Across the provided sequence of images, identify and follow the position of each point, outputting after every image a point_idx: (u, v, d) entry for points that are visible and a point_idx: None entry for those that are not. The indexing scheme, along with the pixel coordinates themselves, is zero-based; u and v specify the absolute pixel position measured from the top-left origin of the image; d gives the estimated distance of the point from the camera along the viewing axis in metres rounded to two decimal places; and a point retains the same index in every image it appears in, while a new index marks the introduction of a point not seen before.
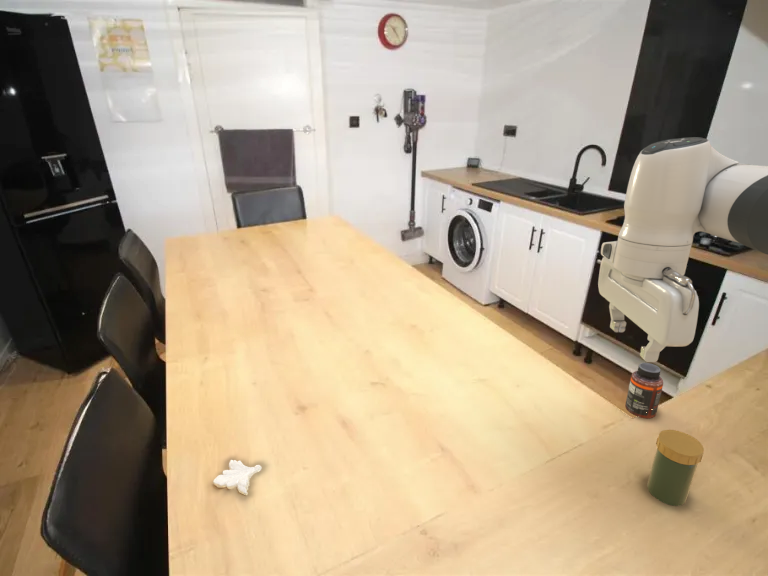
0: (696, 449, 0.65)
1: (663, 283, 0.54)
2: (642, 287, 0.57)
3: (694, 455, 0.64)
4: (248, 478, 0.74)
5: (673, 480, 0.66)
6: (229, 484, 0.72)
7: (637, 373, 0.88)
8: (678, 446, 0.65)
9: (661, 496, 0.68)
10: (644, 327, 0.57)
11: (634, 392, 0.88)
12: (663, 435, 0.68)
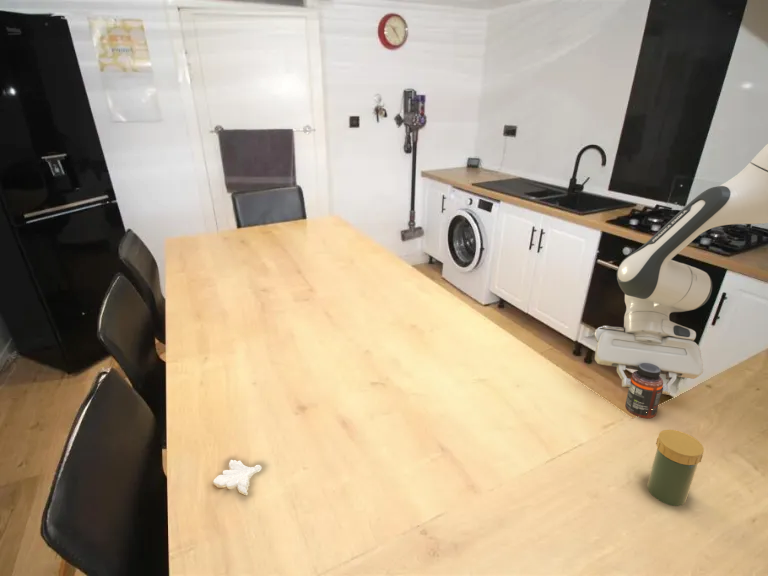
0: (696, 449, 0.65)
1: None
2: None
3: (694, 455, 0.64)
4: (248, 478, 0.74)
5: (673, 480, 0.66)
6: (229, 484, 0.72)
7: (637, 373, 0.88)
8: (678, 446, 0.65)
9: (661, 496, 0.68)
10: (617, 364, 0.94)
11: (634, 392, 0.88)
12: (663, 435, 0.68)
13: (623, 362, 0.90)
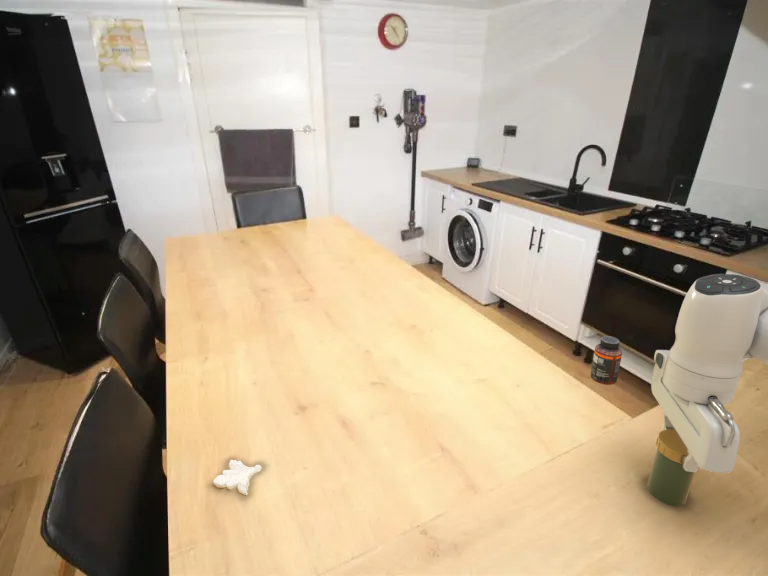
0: None
1: (707, 410, 0.58)
2: (688, 407, 0.61)
3: None
4: (248, 478, 0.74)
5: (673, 480, 0.66)
6: (229, 484, 0.72)
7: (599, 345, 1.00)
8: (678, 446, 0.65)
9: (661, 496, 0.68)
10: (687, 445, 0.61)
11: (597, 361, 1.00)
12: (663, 435, 0.68)
13: None
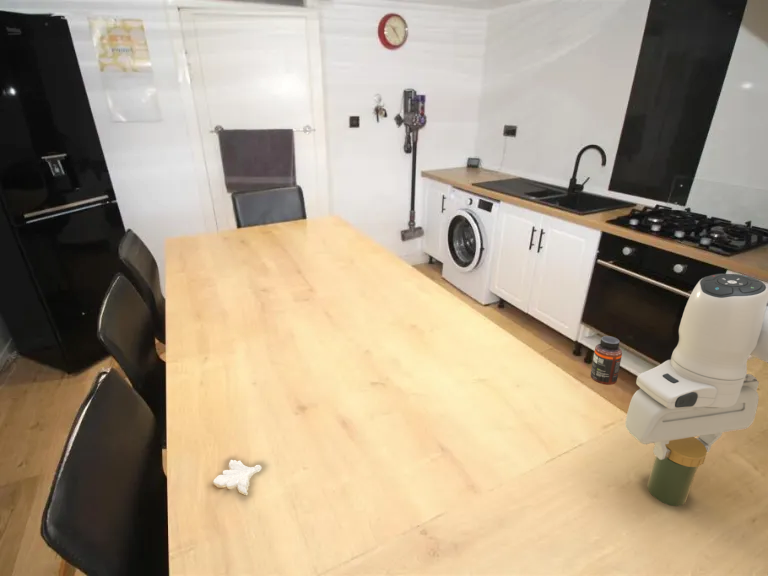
0: None
1: None
2: None
3: (694, 437, 0.67)
4: (248, 478, 0.74)
5: (673, 481, 0.66)
6: (229, 484, 0.72)
7: (599, 345, 1.00)
8: (694, 446, 0.65)
9: (661, 496, 0.68)
10: (727, 429, 0.64)
11: (597, 361, 1.00)
12: (688, 454, 0.64)
13: None
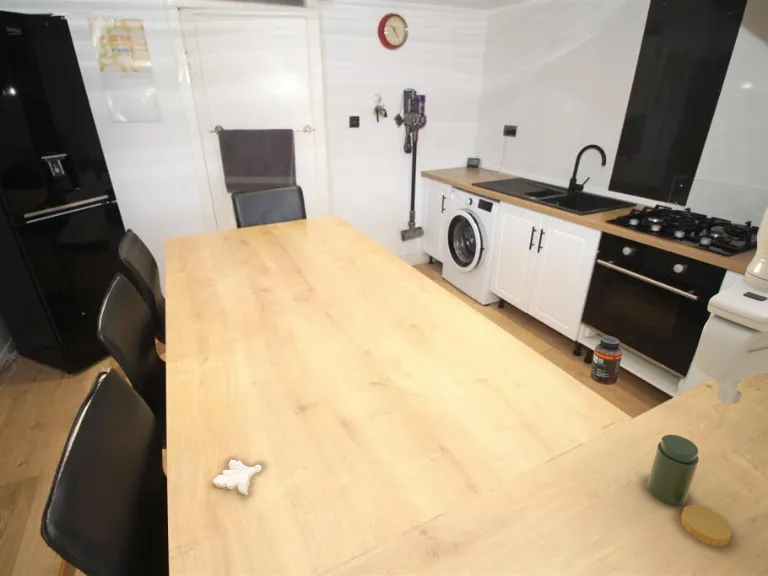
0: (702, 509, 0.65)
1: None
2: None
3: (714, 511, 0.65)
4: (248, 478, 0.74)
5: (673, 480, 0.66)
6: (229, 484, 0.72)
7: (599, 345, 1.00)
8: (718, 523, 0.63)
9: (661, 496, 0.68)
10: None
11: (597, 361, 1.00)
12: (715, 535, 0.61)
13: None
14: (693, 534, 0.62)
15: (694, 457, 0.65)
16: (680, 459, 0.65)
